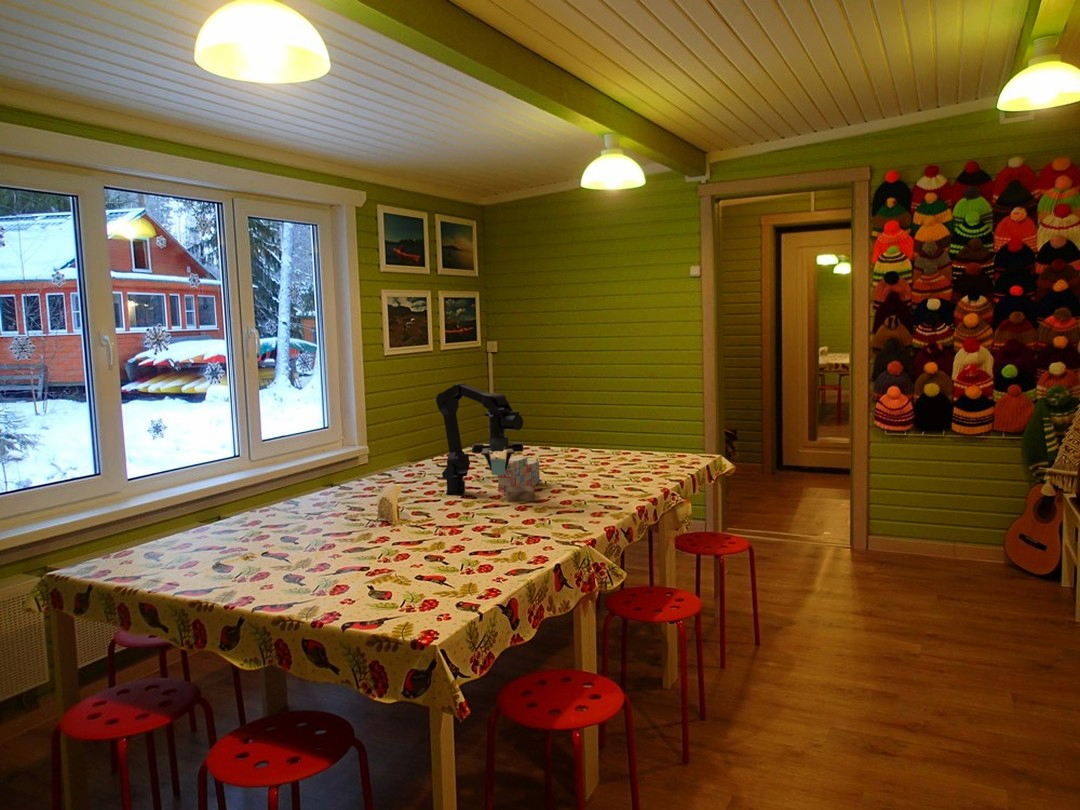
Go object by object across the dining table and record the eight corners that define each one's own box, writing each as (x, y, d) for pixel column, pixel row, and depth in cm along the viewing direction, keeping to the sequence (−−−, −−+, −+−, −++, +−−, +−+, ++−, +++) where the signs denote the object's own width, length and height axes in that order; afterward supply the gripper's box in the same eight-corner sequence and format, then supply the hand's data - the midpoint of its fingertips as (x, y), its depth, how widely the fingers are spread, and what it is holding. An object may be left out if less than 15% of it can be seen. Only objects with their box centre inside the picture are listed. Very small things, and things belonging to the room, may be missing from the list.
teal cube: (491, 474, 297) (491, 461, 297) (492, 472, 302) (491, 459, 301) (505, 474, 297) (504, 461, 297) (505, 472, 302) (505, 458, 302)
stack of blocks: (526, 482, 333) (526, 452, 332) (540, 483, 330) (539, 453, 329) (498, 492, 315) (497, 461, 314) (511, 494, 312) (510, 462, 311)
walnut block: (507, 502, 298) (507, 492, 298) (505, 497, 308) (505, 486, 307) (534, 501, 299) (534, 490, 299) (531, 495, 309) (531, 485, 309)
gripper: (470, 432, 290) (471, 475, 291) (522, 431, 290) (523, 474, 291) (472, 428, 301) (474, 469, 302) (522, 426, 301) (524, 468, 303)
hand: (498, 470), depth 299 cm, fingers closed on teal cube, 5 cm apart
